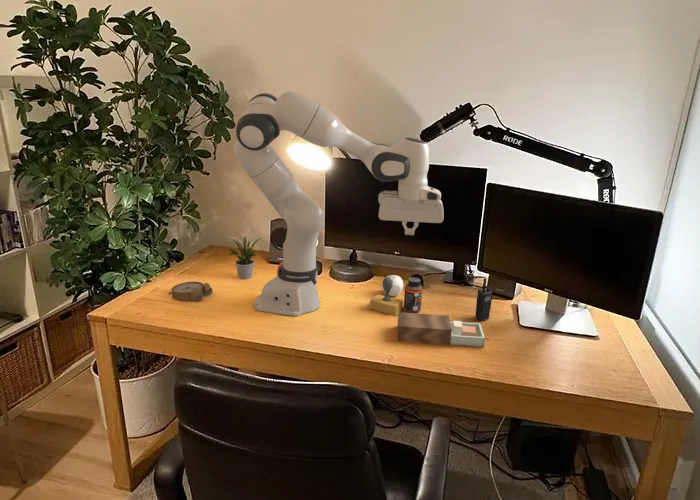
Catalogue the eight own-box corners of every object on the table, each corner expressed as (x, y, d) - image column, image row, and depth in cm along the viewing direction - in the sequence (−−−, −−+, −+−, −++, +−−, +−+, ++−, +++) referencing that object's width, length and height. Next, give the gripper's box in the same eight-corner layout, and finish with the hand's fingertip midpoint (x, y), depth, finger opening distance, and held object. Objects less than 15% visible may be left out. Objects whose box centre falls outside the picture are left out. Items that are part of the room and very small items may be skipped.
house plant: (253, 267, 221) (251, 228, 215) (272, 276, 211) (271, 237, 206) (222, 274, 211) (220, 235, 206) (240, 285, 202) (239, 243, 197)
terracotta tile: (476, 332, 164) (475, 340, 165) (475, 327, 168) (474, 334, 169) (462, 331, 165) (461, 338, 165) (462, 325, 168) (461, 332, 169)
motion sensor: (386, 289, 203) (387, 270, 200) (405, 293, 200) (407, 273, 197) (378, 296, 196) (379, 276, 193) (397, 301, 193) (399, 280, 190)
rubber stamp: (402, 309, 186) (404, 277, 182) (395, 316, 181) (397, 283, 177) (376, 303, 190) (378, 271, 186) (369, 309, 185) (370, 277, 182)
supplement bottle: (420, 314, 183) (422, 283, 179) (402, 312, 184) (404, 281, 180) (421, 307, 188) (423, 277, 184) (404, 305, 189) (406, 275, 186)
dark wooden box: (397, 341, 164) (398, 326, 162) (397, 326, 173) (398, 312, 172) (450, 344, 163) (451, 329, 161) (447, 329, 172) (448, 315, 171)
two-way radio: (479, 322, 178) (484, 280, 173) (470, 317, 182) (474, 275, 177) (491, 318, 181) (496, 277, 176) (481, 313, 185) (486, 273, 180)
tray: (450, 344, 163) (451, 335, 162) (447, 329, 172) (448, 321, 171) (483, 347, 162) (484, 338, 161) (479, 331, 172) (480, 323, 171)
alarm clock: (183, 280, 198) (218, 279, 192) (186, 293, 199) (220, 292, 193) (163, 291, 187) (199, 291, 182) (167, 304, 189) (202, 304, 183)
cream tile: (454, 326, 165) (462, 326, 164) (453, 320, 168) (461, 321, 168) (452, 337, 166) (461, 338, 166) (452, 332, 170) (460, 332, 169)
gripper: (378, 192, 164) (376, 235, 168) (446, 195, 162) (442, 239, 166) (379, 188, 170) (377, 230, 174) (444, 191, 168) (440, 233, 172)
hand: (409, 234), depth 170 cm, fingers closed
